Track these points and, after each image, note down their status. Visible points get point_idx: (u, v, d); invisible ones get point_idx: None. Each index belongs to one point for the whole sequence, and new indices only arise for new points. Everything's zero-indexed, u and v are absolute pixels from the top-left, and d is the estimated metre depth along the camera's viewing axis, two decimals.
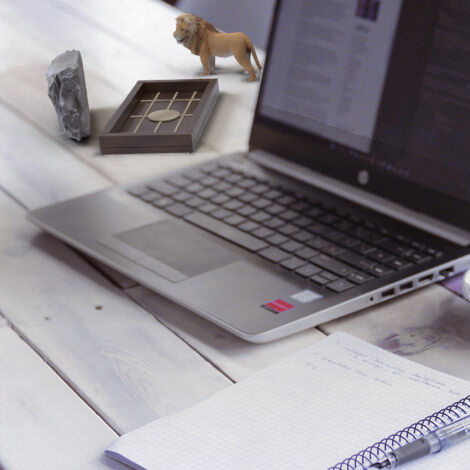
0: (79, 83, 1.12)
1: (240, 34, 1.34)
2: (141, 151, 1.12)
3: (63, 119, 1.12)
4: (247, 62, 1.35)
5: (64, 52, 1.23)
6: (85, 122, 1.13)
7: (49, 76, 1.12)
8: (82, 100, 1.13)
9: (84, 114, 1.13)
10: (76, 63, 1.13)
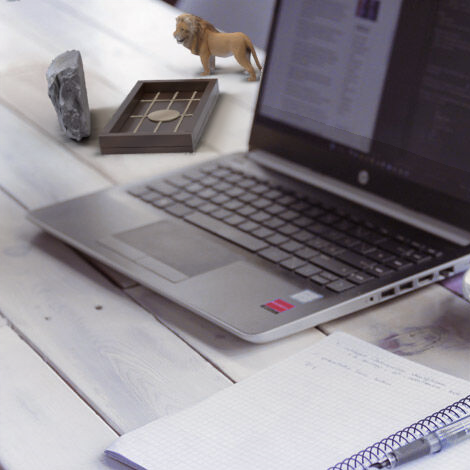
0: (79, 83, 1.12)
1: (240, 34, 1.34)
2: (141, 151, 1.12)
3: (63, 119, 1.12)
4: (247, 62, 1.35)
5: (64, 52, 1.23)
6: (85, 122, 1.13)
7: (49, 76, 1.12)
8: (82, 100, 1.13)
9: (84, 114, 1.13)
10: (76, 63, 1.13)
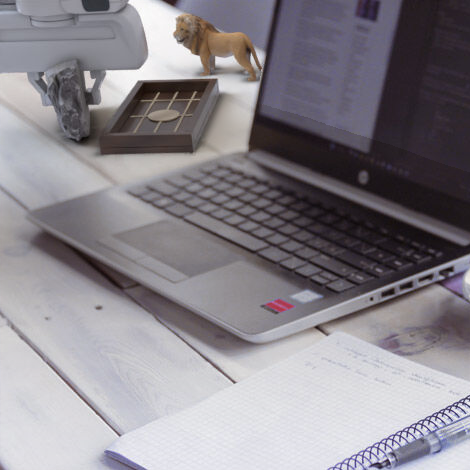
0: (78, 83, 1.12)
1: (240, 34, 1.34)
2: (141, 151, 1.12)
3: (62, 119, 1.12)
4: (247, 62, 1.35)
5: None
6: (84, 122, 1.13)
7: (48, 76, 1.12)
8: (81, 100, 1.13)
9: (83, 114, 1.13)
10: (75, 63, 1.13)
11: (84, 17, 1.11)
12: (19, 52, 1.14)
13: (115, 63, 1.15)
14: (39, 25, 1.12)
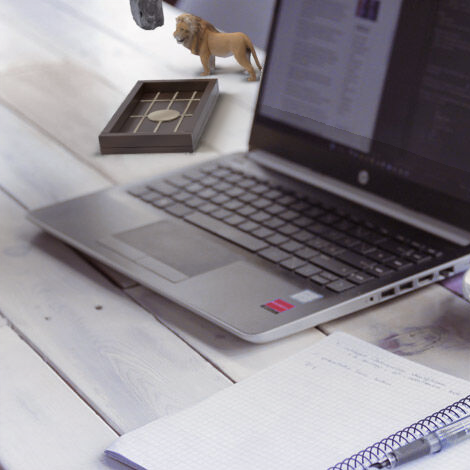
0: None
1: (240, 34, 1.34)
2: (141, 151, 1.12)
3: (138, 4, 1.07)
4: (247, 62, 1.35)
5: None
6: (161, 8, 1.08)
7: None
8: None
9: None
10: None
11: None
12: None
13: None
14: None
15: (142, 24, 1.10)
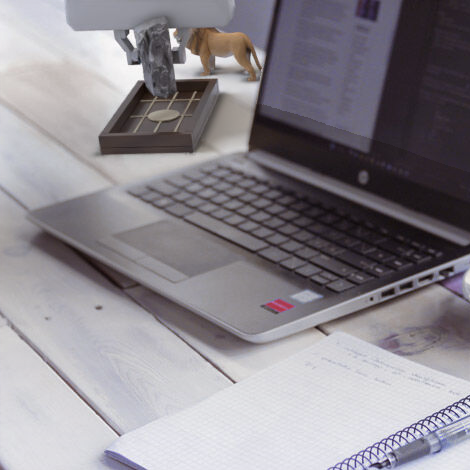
0: (169, 39, 1.11)
1: (240, 34, 1.34)
2: (141, 151, 1.12)
3: (152, 76, 1.11)
4: (247, 62, 1.35)
5: None
6: (173, 79, 1.12)
7: (138, 32, 1.11)
8: (171, 57, 1.11)
9: (173, 71, 1.12)
10: (165, 19, 1.12)
11: None
12: (107, 9, 1.13)
13: (204, 20, 1.13)
14: None
15: (155, 93, 1.14)
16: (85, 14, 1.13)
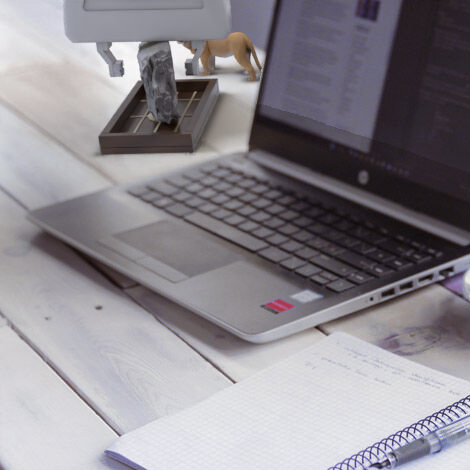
0: (172, 66, 1.12)
1: (240, 34, 1.34)
2: (141, 151, 1.12)
3: (155, 102, 1.12)
4: (247, 62, 1.35)
5: None
6: (176, 105, 1.14)
7: (142, 59, 1.12)
8: (174, 83, 1.13)
9: (176, 97, 1.13)
10: (168, 46, 1.13)
11: None
12: (106, 22, 1.14)
13: (202, 33, 1.14)
14: None
15: (158, 119, 1.15)
16: (83, 26, 1.14)
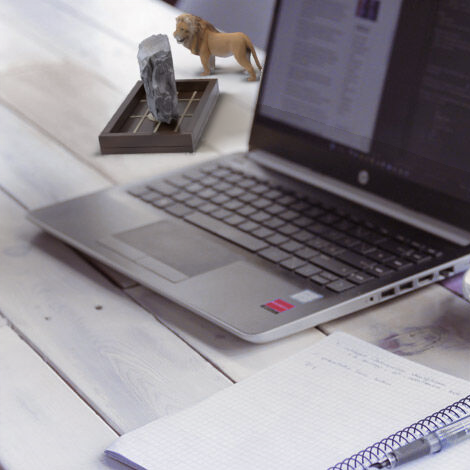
0: (172, 66, 1.12)
1: (240, 34, 1.34)
2: (141, 151, 1.12)
3: (155, 102, 1.12)
4: (247, 62, 1.35)
5: None
6: (176, 105, 1.14)
7: (142, 59, 1.12)
8: (174, 83, 1.13)
9: (176, 97, 1.13)
10: (168, 46, 1.13)
11: None
12: None
13: None
14: None
15: (158, 119, 1.15)
16: None
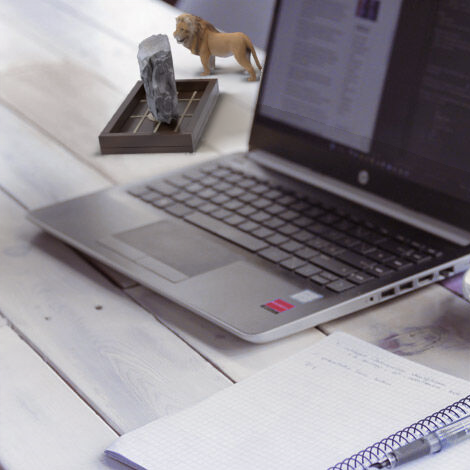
0: (172, 66, 1.12)
1: (240, 34, 1.34)
2: (141, 151, 1.12)
3: (155, 102, 1.12)
4: (247, 62, 1.35)
5: None
6: (176, 105, 1.14)
7: (142, 59, 1.12)
8: (174, 83, 1.13)
9: (176, 97, 1.13)
10: (168, 46, 1.13)
11: None
12: None
13: None
14: None
15: (158, 119, 1.15)
16: None
